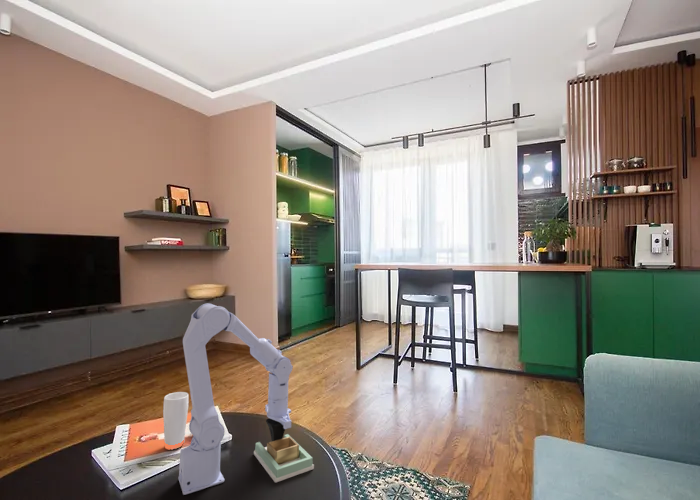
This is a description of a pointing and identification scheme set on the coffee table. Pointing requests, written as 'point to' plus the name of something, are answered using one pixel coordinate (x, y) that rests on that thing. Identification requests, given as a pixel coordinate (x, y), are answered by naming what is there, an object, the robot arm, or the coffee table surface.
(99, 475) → the coffee table surface
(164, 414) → the drinking glass
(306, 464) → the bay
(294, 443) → the crate
